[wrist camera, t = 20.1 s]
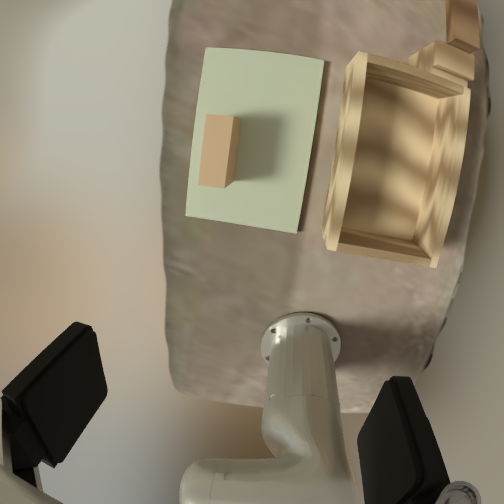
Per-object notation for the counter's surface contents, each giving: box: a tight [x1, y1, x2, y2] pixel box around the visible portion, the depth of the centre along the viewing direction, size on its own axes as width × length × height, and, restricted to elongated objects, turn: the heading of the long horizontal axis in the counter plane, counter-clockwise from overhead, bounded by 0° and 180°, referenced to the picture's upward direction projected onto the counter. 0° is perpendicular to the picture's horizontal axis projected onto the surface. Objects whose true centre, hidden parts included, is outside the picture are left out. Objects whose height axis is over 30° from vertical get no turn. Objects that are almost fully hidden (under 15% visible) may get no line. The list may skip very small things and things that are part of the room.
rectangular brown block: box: [445, 0, 480, 53], centre depth 19 cm, size 8×3×2 cm, turn 173°
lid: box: [185, 48, 324, 234], centre depth 35 cm, size 23×15×8 cm, turn 172°
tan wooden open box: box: [321, 40, 475, 268], centre depth 31 cm, size 26×14×10 cm, turn 173°
